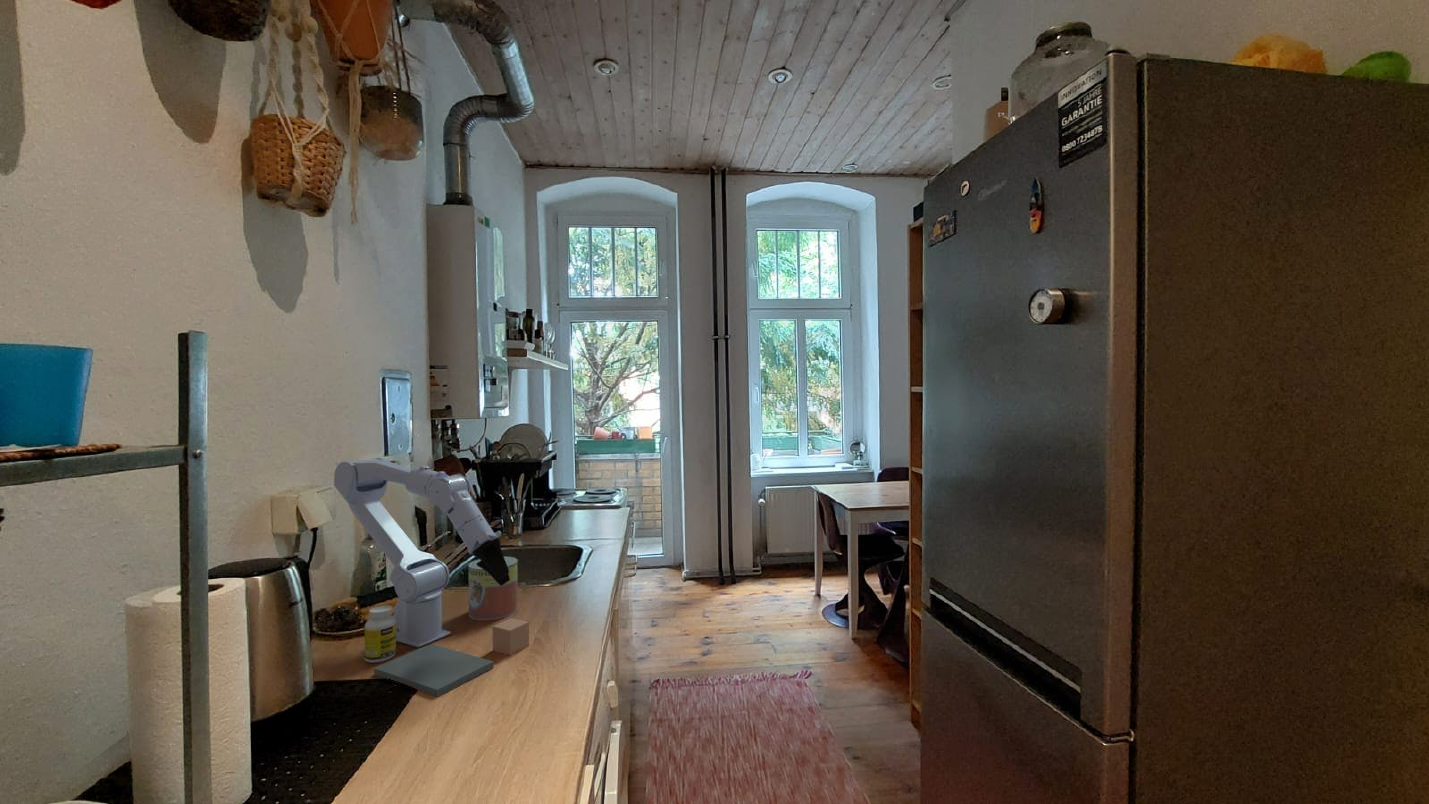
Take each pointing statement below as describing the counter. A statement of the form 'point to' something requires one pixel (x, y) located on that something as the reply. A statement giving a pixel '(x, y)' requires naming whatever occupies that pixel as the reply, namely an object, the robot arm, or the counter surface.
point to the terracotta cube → (510, 636)
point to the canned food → (492, 592)
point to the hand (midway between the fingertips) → (505, 579)
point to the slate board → (434, 669)
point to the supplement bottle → (380, 635)
